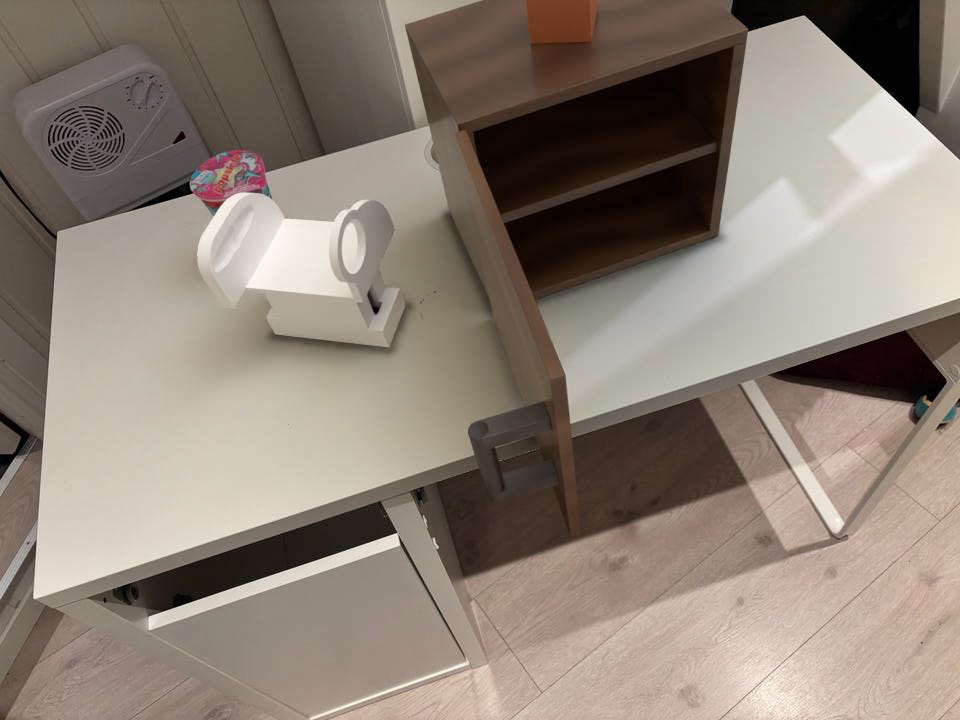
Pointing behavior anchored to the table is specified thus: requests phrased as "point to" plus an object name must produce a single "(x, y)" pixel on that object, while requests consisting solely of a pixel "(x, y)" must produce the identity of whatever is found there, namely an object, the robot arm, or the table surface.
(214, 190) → the cup
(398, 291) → the tape dispenser
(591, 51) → the cupboard
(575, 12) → the block
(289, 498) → the table surface
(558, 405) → the cupboard door
